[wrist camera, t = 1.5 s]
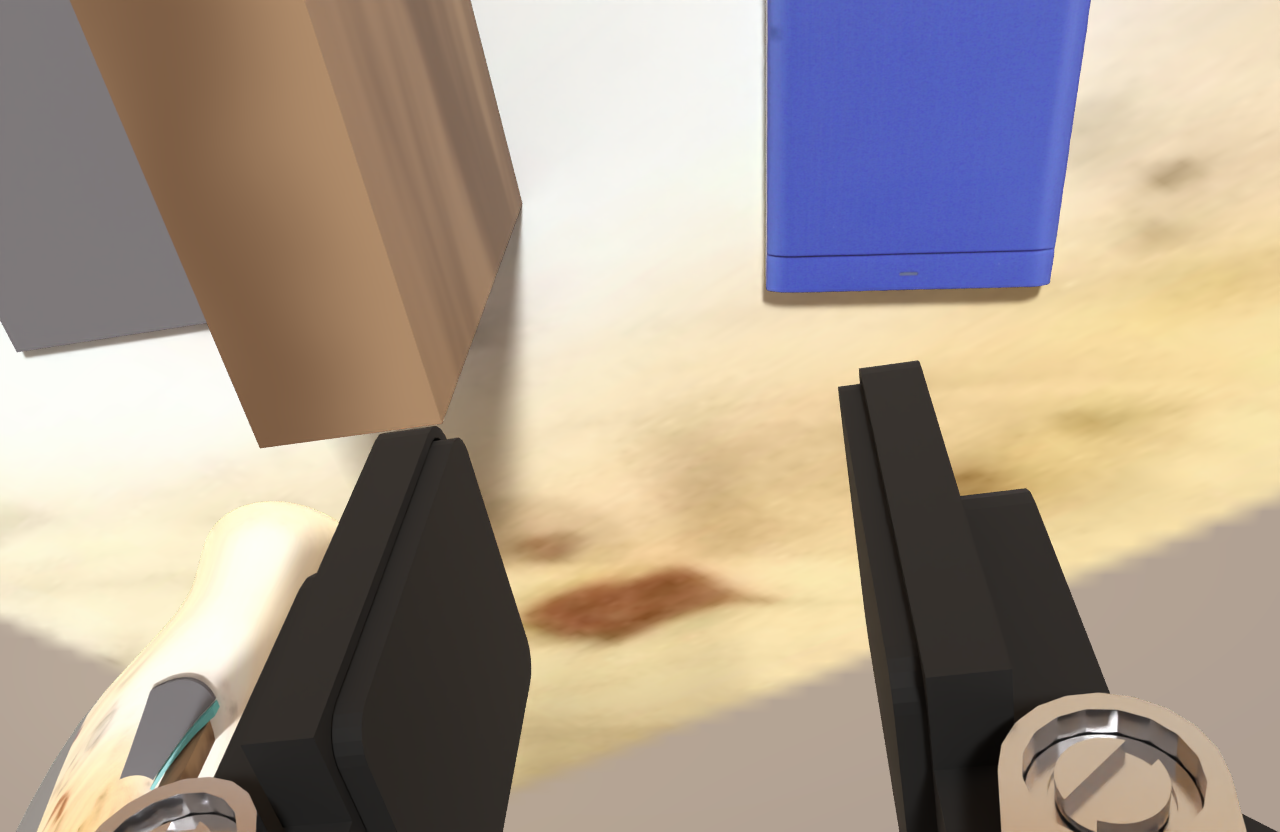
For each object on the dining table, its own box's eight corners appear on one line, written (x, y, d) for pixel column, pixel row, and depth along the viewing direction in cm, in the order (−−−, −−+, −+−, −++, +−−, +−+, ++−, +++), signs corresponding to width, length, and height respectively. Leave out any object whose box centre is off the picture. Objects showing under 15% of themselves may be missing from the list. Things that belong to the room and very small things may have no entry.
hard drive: (767, -179, 28) (765, 295, 35) (1123, -198, 27) (1053, 288, 34) (765, -185, 29) (764, 271, 36) (1104, -203, 29) (1040, 265, 35)
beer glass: (198, 626, 44) (-11, 1012, 31) (186, 474, 40) (-58, 842, 28) (385, 653, 44) (251, 1047, 31) (390, 504, 40) (241, 882, 28)
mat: (170, -211, 29) (164, -210, 29) (348, 295, 36) (345, 301, 36) (-222, -123, 31) (-232, -121, 30) (23, 346, 38) (17, 352, 38)
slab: (426, -172, 29) (274, -93, 19) (522, 203, 34) (442, 423, 24) (275, -140, 30) (49, -46, 20) (391, 224, 35) (260, 448, 25)
